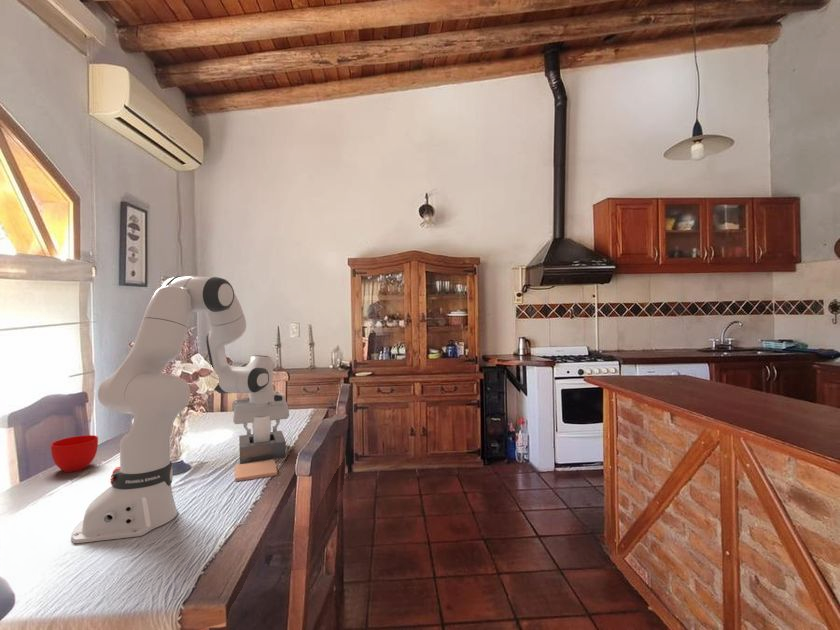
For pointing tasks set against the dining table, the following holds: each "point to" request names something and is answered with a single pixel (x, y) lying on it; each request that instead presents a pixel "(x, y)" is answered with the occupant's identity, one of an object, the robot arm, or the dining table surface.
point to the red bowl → (74, 452)
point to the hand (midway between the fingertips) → (261, 432)
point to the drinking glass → (261, 429)
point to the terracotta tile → (255, 470)
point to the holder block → (262, 448)
